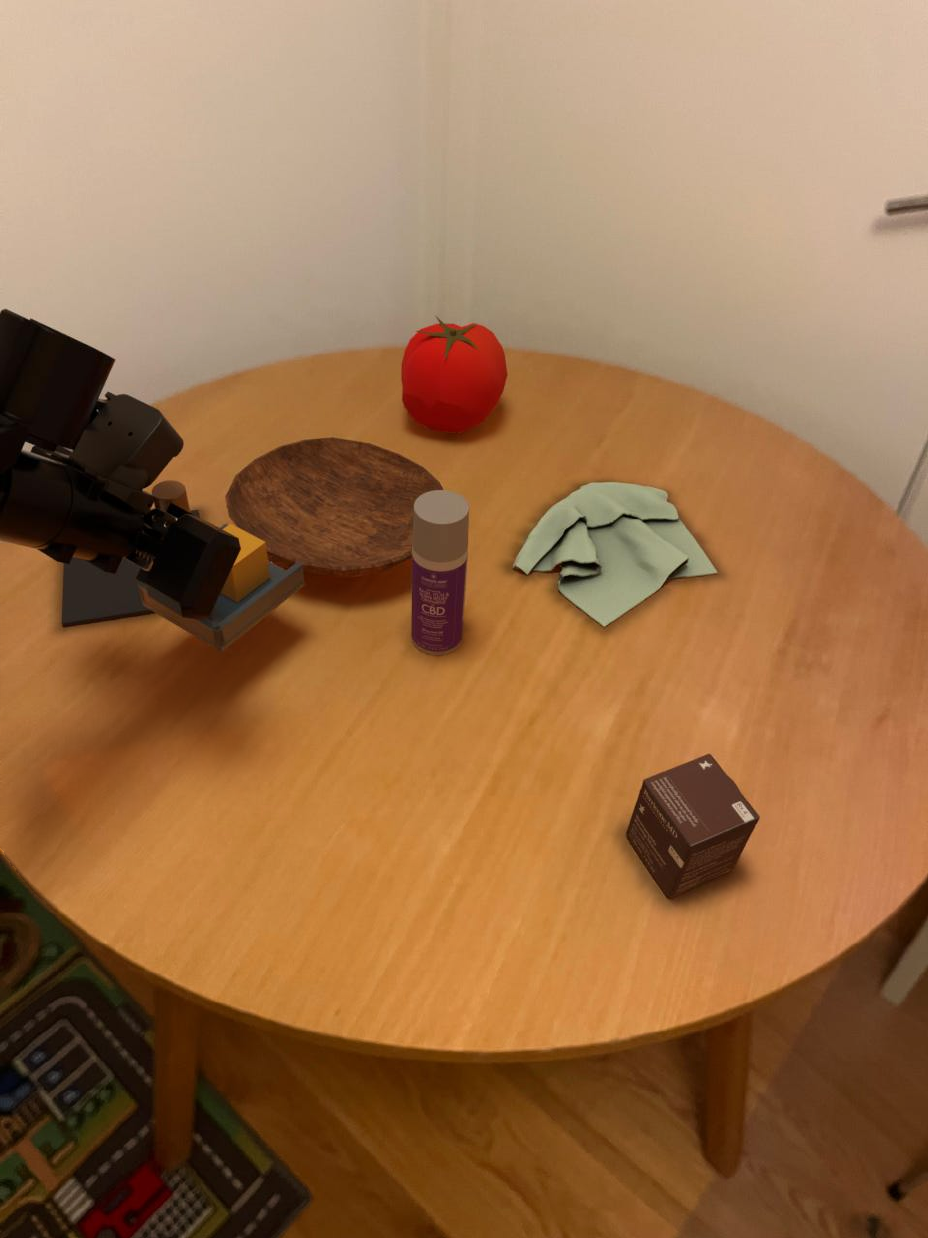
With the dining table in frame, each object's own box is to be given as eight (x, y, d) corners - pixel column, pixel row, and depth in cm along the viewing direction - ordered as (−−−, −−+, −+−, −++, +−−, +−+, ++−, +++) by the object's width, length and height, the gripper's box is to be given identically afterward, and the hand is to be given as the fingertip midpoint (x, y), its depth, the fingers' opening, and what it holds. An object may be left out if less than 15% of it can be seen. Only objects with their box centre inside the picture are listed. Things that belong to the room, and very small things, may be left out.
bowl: (320, 454, 103) (317, 416, 100) (483, 529, 95) (486, 490, 92) (191, 544, 92) (182, 504, 88) (364, 639, 83) (362, 599, 80)
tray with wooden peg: (221, 652, 73) (195, 525, 64) (143, 605, 77) (107, 477, 67) (305, 585, 79) (292, 459, 70) (229, 544, 83) (207, 419, 73)
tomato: (376, 413, 110) (374, 322, 102) (462, 379, 116) (466, 291, 108) (440, 460, 104) (443, 368, 95) (527, 422, 110) (537, 332, 102)
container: (417, 659, 82) (419, 528, 71) (406, 623, 85) (406, 492, 74) (468, 651, 83) (477, 520, 72) (455, 615, 86) (462, 485, 75)
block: (237, 603, 76) (231, 567, 74) (203, 583, 78) (195, 547, 75) (270, 577, 79) (265, 541, 76) (236, 558, 80) (230, 523, 78)
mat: (62, 627, 83) (61, 623, 82) (66, 530, 92) (64, 527, 92) (210, 604, 86) (209, 600, 85) (198, 513, 95) (198, 509, 95)
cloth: (670, 481, 103) (675, 463, 101) (739, 617, 87) (745, 599, 86) (490, 490, 100) (492, 471, 98) (529, 633, 85) (531, 614, 83)
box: (623, 833, 70) (640, 777, 65) (688, 807, 72) (710, 750, 67) (667, 901, 66) (690, 847, 61) (735, 871, 68) (762, 816, 63)
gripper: (197, 437, 54) (331, 499, 68) (-5, 338, 61) (156, 413, 75) (119, 609, 54) (268, 634, 69) (-71, 491, 61) (100, 536, 76)
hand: (196, 547), depth 72 cm, fingers closed on tray with wooden peg, 2 cm apart
